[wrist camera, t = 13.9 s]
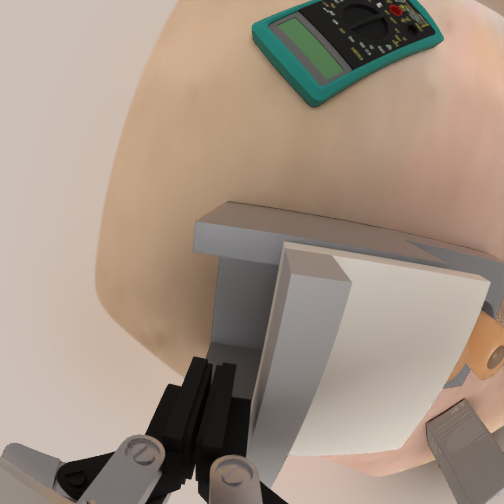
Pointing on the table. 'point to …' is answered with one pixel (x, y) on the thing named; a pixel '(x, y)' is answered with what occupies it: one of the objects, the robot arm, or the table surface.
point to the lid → (354, 353)
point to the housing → (327, 236)
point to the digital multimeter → (342, 41)
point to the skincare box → (467, 455)
